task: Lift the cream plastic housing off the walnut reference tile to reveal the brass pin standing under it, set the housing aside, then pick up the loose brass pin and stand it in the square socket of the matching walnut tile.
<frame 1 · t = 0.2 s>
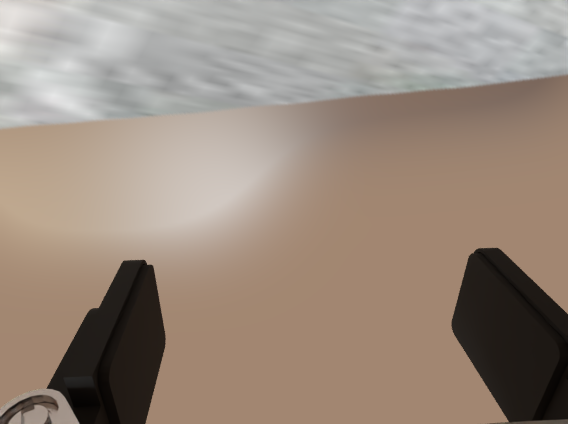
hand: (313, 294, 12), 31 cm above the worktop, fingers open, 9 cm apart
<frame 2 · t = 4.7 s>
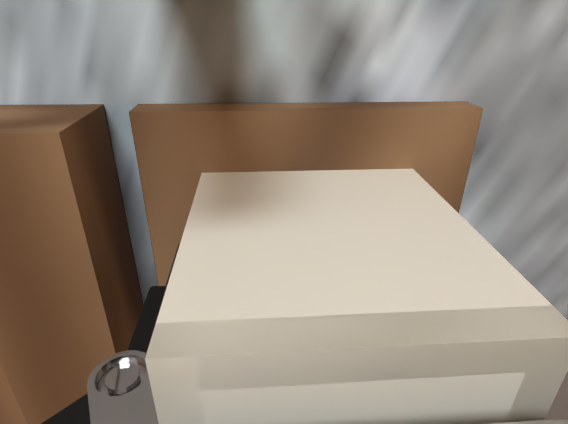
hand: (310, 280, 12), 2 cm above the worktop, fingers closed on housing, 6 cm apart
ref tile: (302, 243, 14), on the worktop
housing: (305, 259, 13), point 1 cm above the worktop, touching gripper, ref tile
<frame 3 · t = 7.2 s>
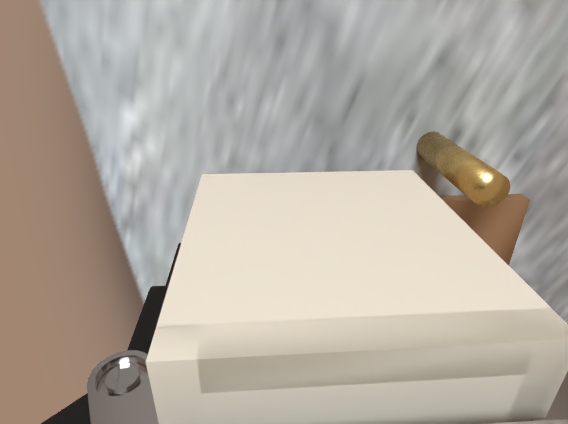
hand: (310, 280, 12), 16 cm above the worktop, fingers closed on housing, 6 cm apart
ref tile: (446, 250, 32), on the worktop
brass pin: (430, 145, 28), on the worktop
housing: (305, 260, 13), point 15 cm above the worktop, touching gripper
when the fingers open (3 cm above the worktop, at t = 9.8 s): housing drops 2 cm, on the worktop.
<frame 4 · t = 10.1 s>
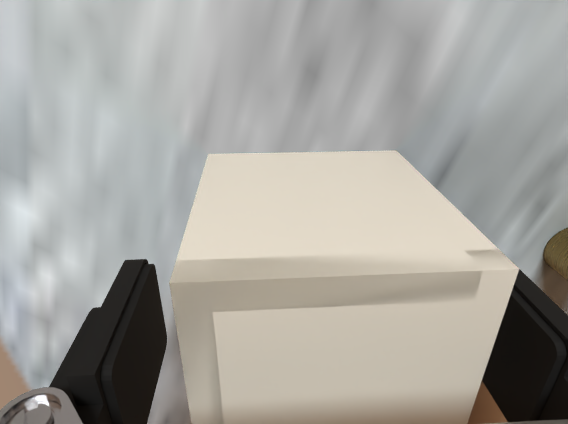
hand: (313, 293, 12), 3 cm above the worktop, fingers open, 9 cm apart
socket tile: (355, 407, 20), on the worktop
housing: (301, 233, 15), on the worktop
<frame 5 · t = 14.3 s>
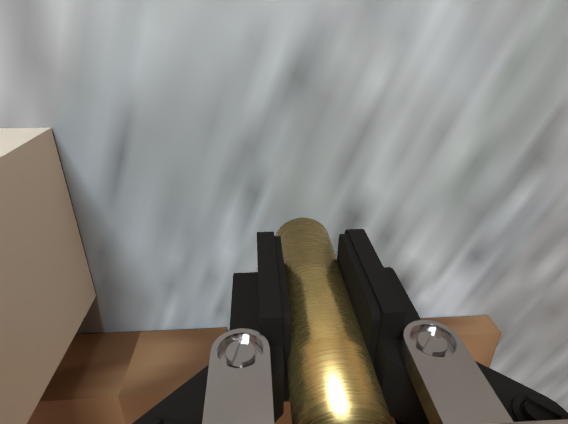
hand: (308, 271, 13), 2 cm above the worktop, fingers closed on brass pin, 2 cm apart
socket tile: (122, 415, 18), on the worktop
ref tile: (360, 401, 19), on the worktop
brass pin: (301, 242, 14), on the worktop, touching gripper
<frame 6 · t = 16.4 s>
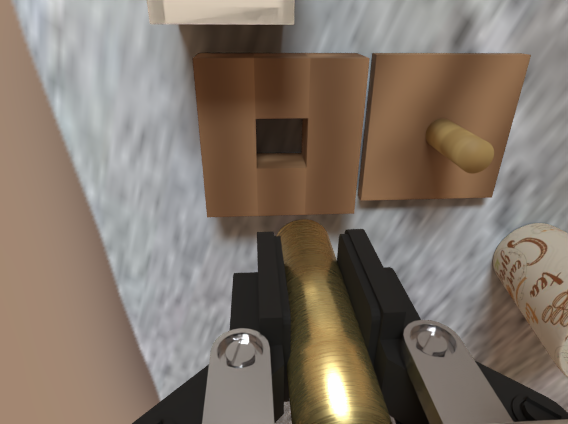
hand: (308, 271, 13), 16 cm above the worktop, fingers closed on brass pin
socket tile: (278, 130, 27), on the worktop
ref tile: (433, 129, 28), on the worktop
brass pin: (301, 243, 14), point 15 cm above the worktop, touching gripper
mug: (541, 262, 34), on the worktop
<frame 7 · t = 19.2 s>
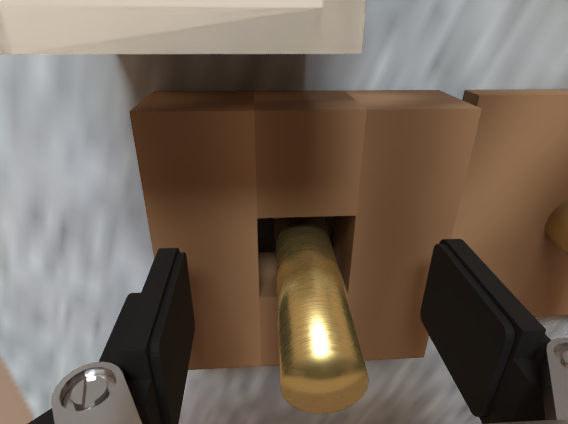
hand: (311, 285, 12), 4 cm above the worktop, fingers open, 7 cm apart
socket tile: (296, 217, 16), on the worktop
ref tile: (552, 210, 17), on the worktop
brass pin: (298, 218, 16), resting in socket tile
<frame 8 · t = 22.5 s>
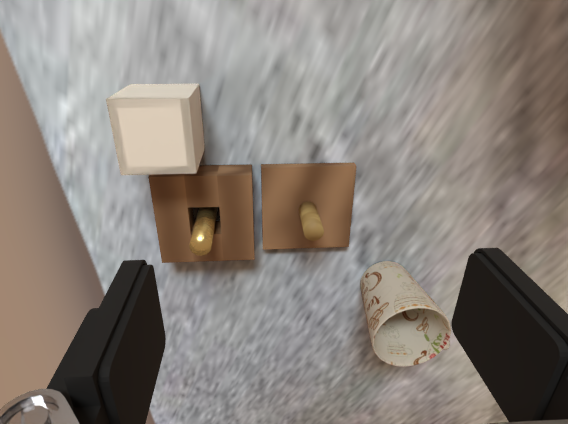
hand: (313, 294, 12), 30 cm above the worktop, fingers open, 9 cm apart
socket tile: (207, 208, 44), on the worktop
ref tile: (306, 205, 44), on the worktop
brass pin: (208, 208, 44), resting in socket tile
housing: (169, 117, 39), on the worktop
mug: (395, 285, 51), on the worktop
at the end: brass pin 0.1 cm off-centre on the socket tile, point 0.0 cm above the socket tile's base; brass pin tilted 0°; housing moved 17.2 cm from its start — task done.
